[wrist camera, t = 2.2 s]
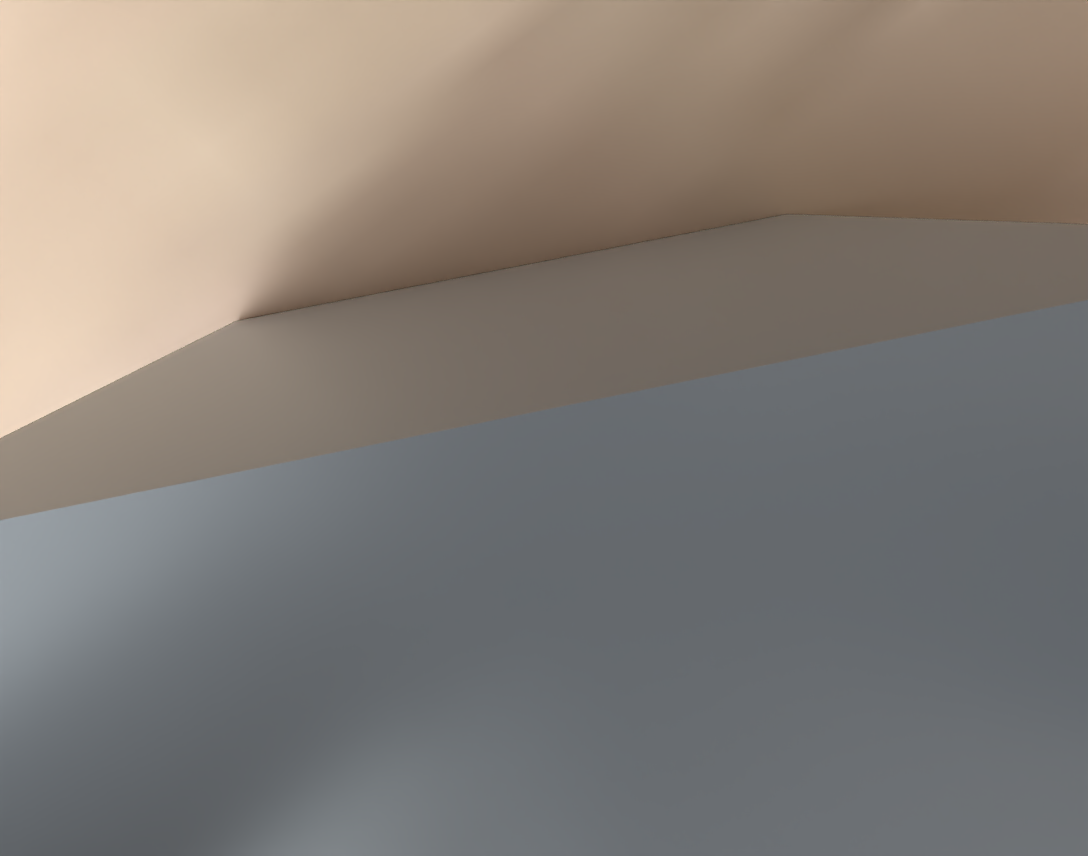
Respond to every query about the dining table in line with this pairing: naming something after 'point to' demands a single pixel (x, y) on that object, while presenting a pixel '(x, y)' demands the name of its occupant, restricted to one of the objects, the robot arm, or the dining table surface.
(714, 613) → the grey square block
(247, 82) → the dining table surface
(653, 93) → the dining table surface
